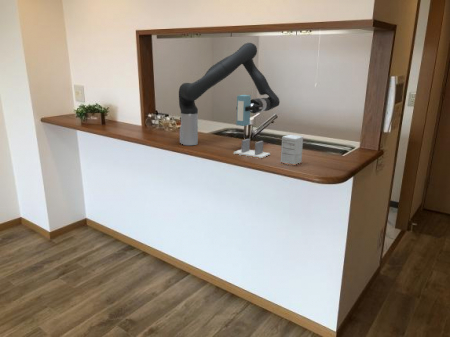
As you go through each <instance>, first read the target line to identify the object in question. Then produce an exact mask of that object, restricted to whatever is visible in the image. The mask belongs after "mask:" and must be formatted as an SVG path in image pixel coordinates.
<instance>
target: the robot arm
mask: <svg viewBox="0 0 450 337" xmlns="http://www.w3.org/2000/svg"><path fill="white" fill-rule="evenodd" d="M257 54H258V48H257V46H256V45H255V44H254V43H252V42H246V43H244V44H243V45H241V46H240V47H239V48H238V49H237V50H236V51H235V52H233V53H232V54H230V55H228V56H226V57H225V58H223V59H222V60H219V61H218V62H216V63H215V64H213V65H212V66H211V67H209V68H208V70H207V71H206V72H205V74H203V76H202V77H201V78H198V79H197V80H196V81H193V82H183V83H182V84H181V85H180V86H179V89H178V103H179V104H178V106H179V109H180V126H179V144H180V143H181V145H182V144H183V146H195V145H198V144H199V136H198V135H199V127H198V124H199V122H198V121H199V119H198V118H199V116H198V114H199V111H198V109H199V108H198V107H197V106H196V103H195V102H196V100H198V99H199V98H200V97H202V96H203V95H204V94H205V93H206V92H208V91H209V90H210V89H211V88H212V87H214V86H216V85H217V84H219V83H220V82H222V81H223V80H224V79H226V78H227V77H228V76H230V75H231V74H232V73H233V72H235V70H237V69H238V68H239V67H240V66H241V65H243V67H244V68H245V70H246V72H247V73H248V75H249V77H250V78H251V80H252V81H253V84H254V86H255V87H256V89H257V91H258V94H259V95H260V96H264V95H266V96H268V97H261V98H260V97H259V98H258V97H257V98H254V99H252V98H251V103H250V106H248V107H245V111H250V114H257V113H261V112H263V111H265V112H267V111H268V112H269V111H271V110H273V109H275V108H276V107H278V106H280V102H281V101H280V98H279V96H278V95H277V94H276V93H275V92H274V91H273V89H272V87H271V86H270V85H269V82H268V80H267V79H266V77H265V75H264V74H263V73H262V72H261V71H260V70H259V69H258V67H257V65H256V64H255V62H254V58H255V57H256V56H257ZM236 110H237V106H236Z"/></svg>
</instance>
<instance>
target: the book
mask: <svg viewBox="0 0 450 337" xmlns="http://www.w3.org/2000/svg"><path fill="white" fill-rule="evenodd" d="M251 100H252V95H249V94H241V95H237V96H236V107H237V109H236V123H235V124H236V126H240V127H241V126H242V127H243V126H244V127H245V126H249V125H250V124H251V112H250V111H245V107H248V106H250V103H251Z"/></svg>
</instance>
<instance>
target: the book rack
mask: <svg viewBox="0 0 450 337" xmlns="http://www.w3.org/2000/svg"><path fill="white" fill-rule="evenodd" d="M250 143H251V139H250V138H246V139H243V140H241V149H238V150H236V151H235V150H234V151H233V154H234V155H235V154H239V155H238V156H241V155H246V156H245V157H247V156H253V157H259V158H263V157H266V156H268V155H270V156H271V152H265V151H264V140H259V141H257V142H255V143H254V149H250V148H251V147H250ZM268 157H269V156H268ZM266 158H267V157H266Z"/></svg>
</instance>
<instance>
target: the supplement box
mask: <svg viewBox="0 0 450 337" xmlns="http://www.w3.org/2000/svg"><path fill="white" fill-rule="evenodd" d="M303 144H304V136H302V135H297V134H296V135H295V134H288V135H284V136H282V137H281V147H280V148H281V152H280V153H281V154H280V163H281V162H284V163H289V164H297V163H299V164H301V163H302V159H303V146H304V145H303ZM300 162H301V163H300ZM297 165H298V164H297Z"/></svg>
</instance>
